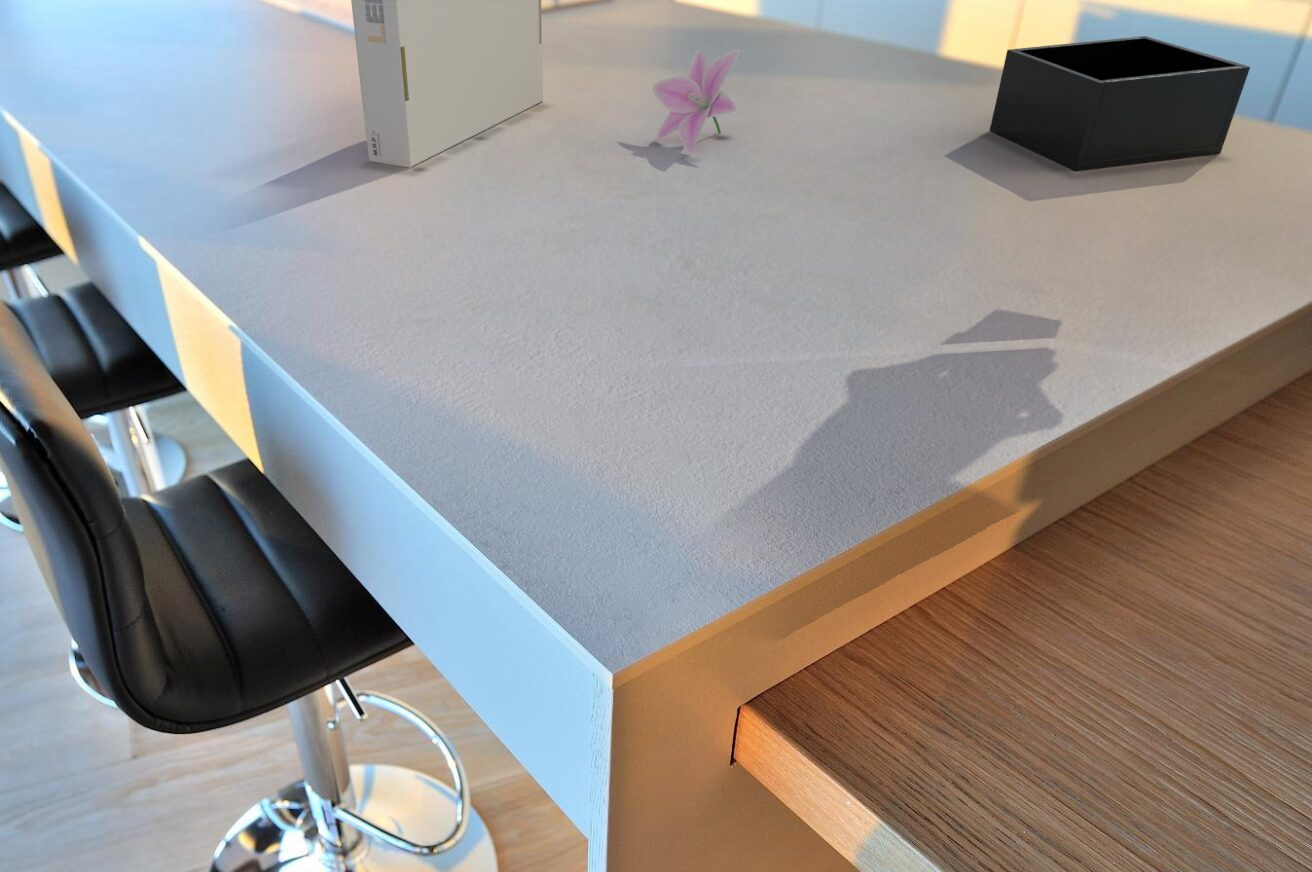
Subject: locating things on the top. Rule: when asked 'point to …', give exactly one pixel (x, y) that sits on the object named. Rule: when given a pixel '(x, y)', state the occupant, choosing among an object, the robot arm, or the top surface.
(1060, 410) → the top surface
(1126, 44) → the black open box
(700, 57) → the lily
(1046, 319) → the top surface
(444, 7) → the packaging
